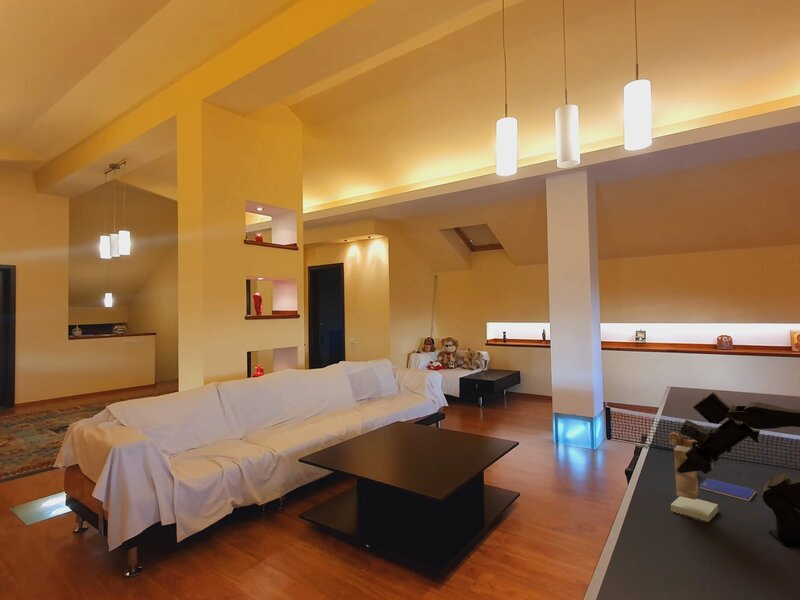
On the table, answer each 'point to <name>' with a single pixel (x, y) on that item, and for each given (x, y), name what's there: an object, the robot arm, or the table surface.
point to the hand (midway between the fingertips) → (680, 468)
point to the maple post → (685, 476)
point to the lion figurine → (680, 440)
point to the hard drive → (728, 489)
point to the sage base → (695, 508)
